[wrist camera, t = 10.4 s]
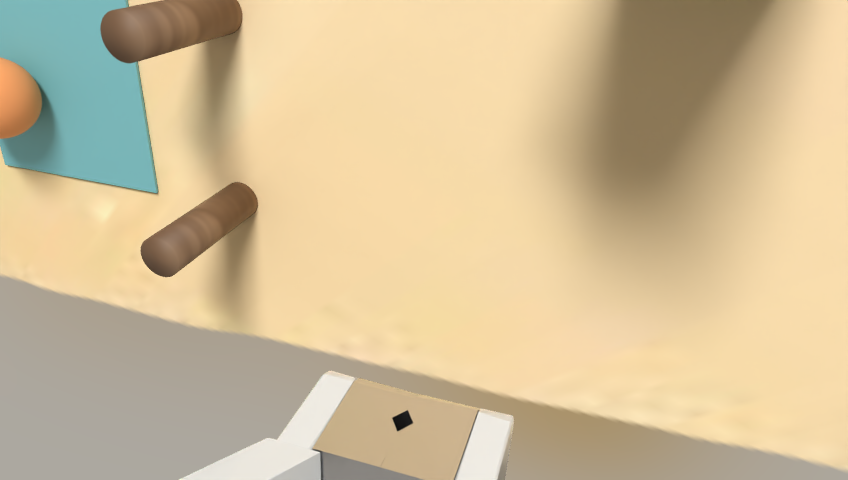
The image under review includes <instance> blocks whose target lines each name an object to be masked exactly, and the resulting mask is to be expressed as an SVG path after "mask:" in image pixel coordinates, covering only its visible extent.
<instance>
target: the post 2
mask: <svg viewBox="0 0 848 480" xmlns="http://www.w3.org/2000/svg"><path fill="white" fill-rule="evenodd" d="M257 205H258V202H257V198H256V195H255V194H254V192H253V191H252V190H251V189H250V188H249V187H248V186H247V185H245V184H243V183H238V182H235V183H232V184H230V185H228V186H227V187H225V188H224V189H222V190H221V191H219V192H218V193H216V194H215V195H213V196H212V197H210V198H209V199H207V200H206V201H204V202H203V203H201V204H199V205H198V206H196V207H195V208H193V209H192V210H190V211H189V212H187V213H186V214H184V215H183V216H181V217H180V218H178V219H177V220H175V221H174V222H172V223H171V224H169V225H168V226H166V227H165V228H163V229H162V230H160V231H159V232H157V233H155V234H154V235H152V236H151V237H149V238H148V239H146V240H145V241H144V242H143V243H142V246H141V256H142V259H143V261H144V262H145V264H146V265H147V267H148V268H149V269H150V270H151V271H153V272H154V273H155V274H157V275H160V276H163V277H170V276H173V275H174V274H176V273H177V272H178V271H180V270H181V269H182V268H184V267H185V266H186V265H187V264H189V263H190V262H191V261H193V260H194V259H195V258H197V257H198V256H199V255H200V254H202V253H203V252H204V251H206V250H207V249H208V248H209V247H211V246H212V245H213V244H215V243H216V242H217V241H219V240H220V239H221V238H222V237H224V236H225V235H226V234H228V233H229V232H230V231H232V230H233V229H234V228H235V227H237V226H238V225H239V224H241V223H242V222H243V221H244V220H246V219H247V218H248V217H250V216H251V215H252V214H254V213H255V211H256V209H257Z"/></svg>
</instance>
